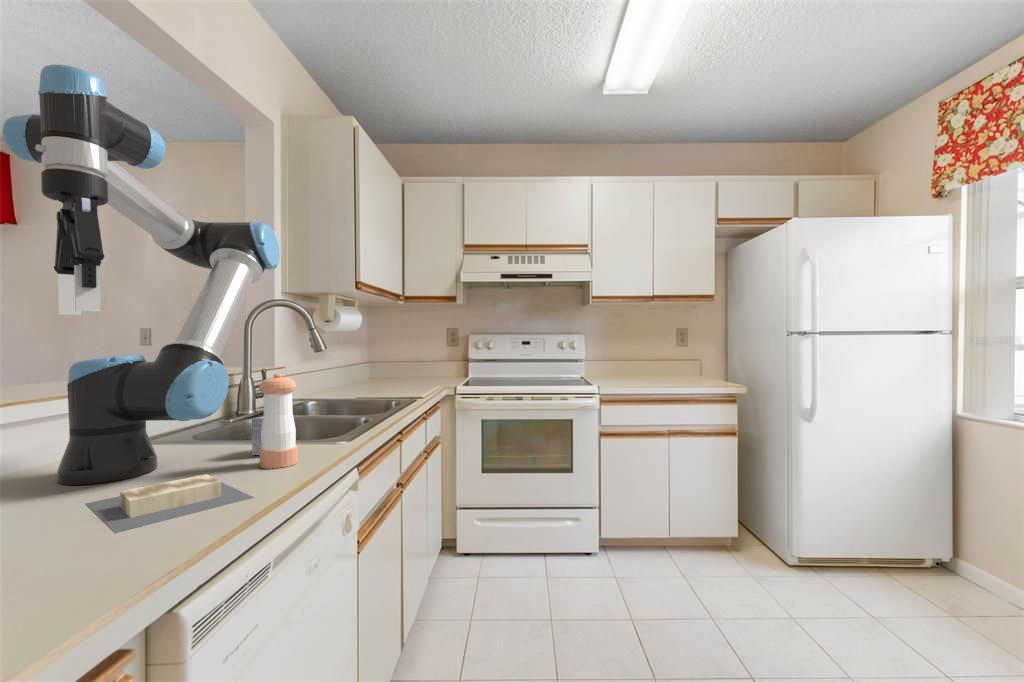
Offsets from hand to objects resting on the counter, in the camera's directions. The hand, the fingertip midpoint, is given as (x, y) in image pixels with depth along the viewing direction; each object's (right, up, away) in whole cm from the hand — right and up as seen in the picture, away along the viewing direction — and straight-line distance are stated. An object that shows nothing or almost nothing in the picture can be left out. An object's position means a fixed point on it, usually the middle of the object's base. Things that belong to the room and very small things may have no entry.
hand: (78, 313), depth 73 cm
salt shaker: (+17, -31, +28) cm, 45 cm away
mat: (+11, -31, +5) cm, 33 cm away
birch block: (+8, -29, -1) cm, 30 cm away
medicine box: (+11, -31, +38) cm, 50 cm away
